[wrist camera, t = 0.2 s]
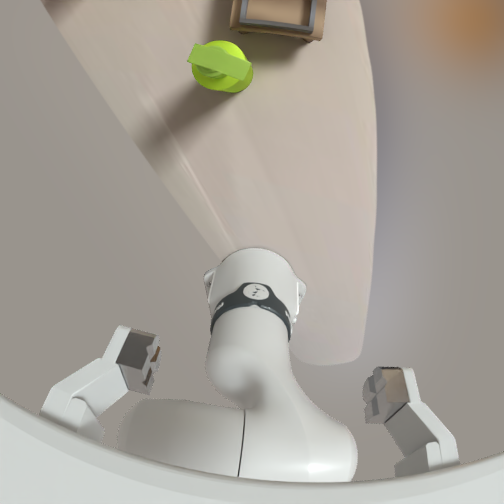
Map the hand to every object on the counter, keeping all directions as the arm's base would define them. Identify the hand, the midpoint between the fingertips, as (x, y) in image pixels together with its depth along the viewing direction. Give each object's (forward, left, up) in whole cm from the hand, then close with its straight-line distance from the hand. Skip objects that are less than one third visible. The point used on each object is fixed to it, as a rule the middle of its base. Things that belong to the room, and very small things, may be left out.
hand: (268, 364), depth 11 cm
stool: (+24, +2, -40) cm, 46 cm away
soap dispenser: (+12, +7, -40) cm, 42 cm away
